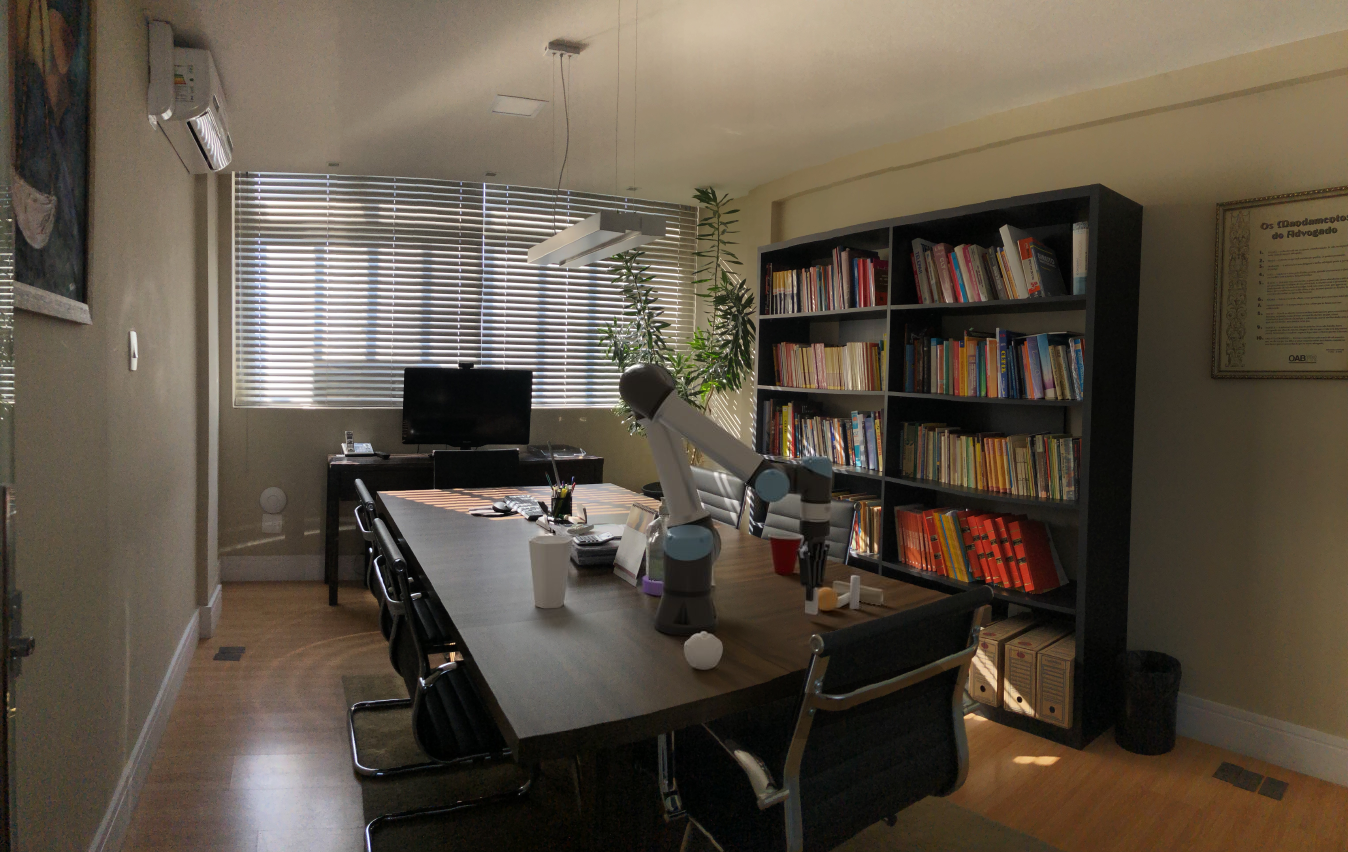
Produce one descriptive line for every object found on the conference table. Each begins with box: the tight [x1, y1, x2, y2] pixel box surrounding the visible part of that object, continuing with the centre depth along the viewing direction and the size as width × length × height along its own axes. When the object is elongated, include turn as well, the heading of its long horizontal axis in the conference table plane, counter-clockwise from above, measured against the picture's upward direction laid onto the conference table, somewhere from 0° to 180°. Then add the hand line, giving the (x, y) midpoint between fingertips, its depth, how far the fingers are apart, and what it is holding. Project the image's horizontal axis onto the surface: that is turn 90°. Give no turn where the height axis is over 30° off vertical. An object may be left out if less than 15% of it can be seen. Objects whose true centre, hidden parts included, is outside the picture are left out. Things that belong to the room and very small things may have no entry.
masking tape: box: [642, 574, 663, 597], centre depth 225 cm, size 12×12×4 cm
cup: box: [528, 534, 574, 610], centre depth 206 cm, size 11×10×17 cm
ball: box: [818, 586, 838, 612], centre depth 209 cm, size 6×6×6 cm
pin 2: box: [849, 574, 861, 610], centre depth 212 cm, size 2×2×8 cm
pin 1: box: [835, 593, 850, 609], centre depth 216 cm, size 2×2×8 cm
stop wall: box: [832, 580, 884, 606], centre depth 220 cm, size 2×14×4 cm, turn 52°
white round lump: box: [683, 631, 724, 671], centre depth 164 cm, size 8×8×8 cm
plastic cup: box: [767, 533, 804, 576], centre depth 250 cm, size 11×11×12 cm
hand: (811, 612), depth 200 cm, fingers closed
